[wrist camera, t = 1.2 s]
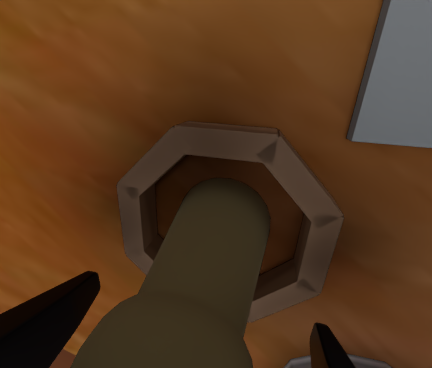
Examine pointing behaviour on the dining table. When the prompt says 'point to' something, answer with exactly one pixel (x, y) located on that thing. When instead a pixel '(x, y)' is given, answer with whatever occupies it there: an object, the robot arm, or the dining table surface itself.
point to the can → (303, 364)
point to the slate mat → (397, 79)
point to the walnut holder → (245, 151)
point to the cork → (191, 288)
